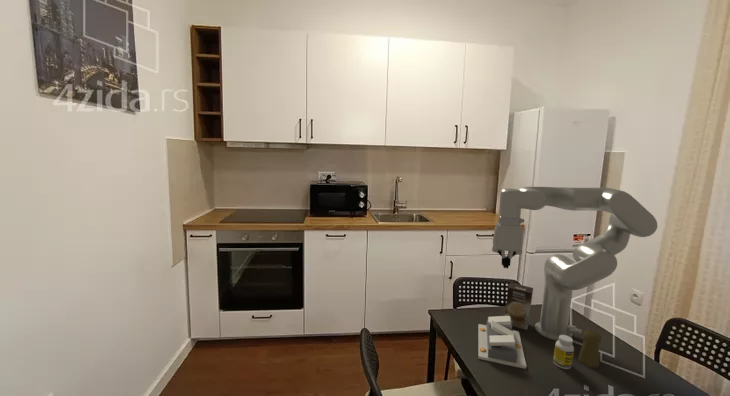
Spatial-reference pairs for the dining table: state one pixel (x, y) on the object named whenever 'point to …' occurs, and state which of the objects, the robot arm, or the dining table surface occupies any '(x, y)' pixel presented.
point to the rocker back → (500, 320)
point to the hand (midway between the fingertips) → (505, 267)
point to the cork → (590, 349)
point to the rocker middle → (500, 329)
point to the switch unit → (500, 348)
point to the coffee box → (519, 305)
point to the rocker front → (502, 340)
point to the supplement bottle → (563, 352)
